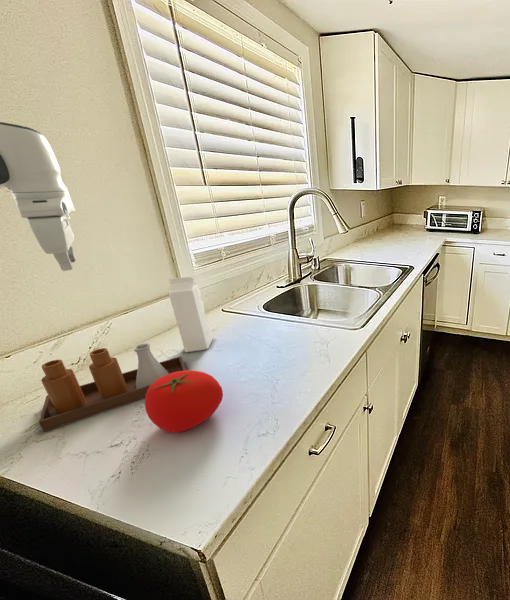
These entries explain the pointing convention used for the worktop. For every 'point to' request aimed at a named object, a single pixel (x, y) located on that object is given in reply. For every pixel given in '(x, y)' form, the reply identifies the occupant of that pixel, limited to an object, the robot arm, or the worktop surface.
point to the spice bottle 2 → (107, 374)
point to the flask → (147, 367)
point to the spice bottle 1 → (62, 387)
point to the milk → (189, 313)
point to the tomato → (182, 400)
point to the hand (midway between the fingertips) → (69, 265)
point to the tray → (96, 403)
